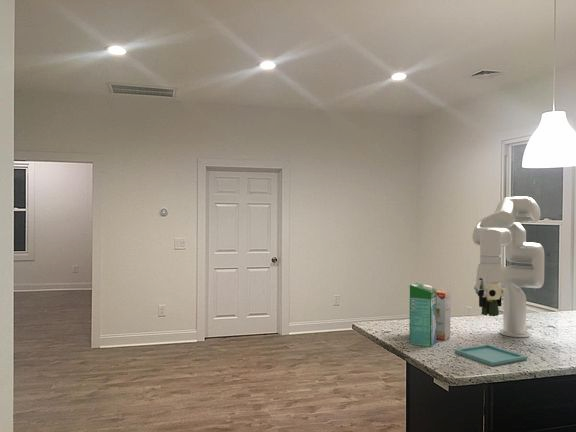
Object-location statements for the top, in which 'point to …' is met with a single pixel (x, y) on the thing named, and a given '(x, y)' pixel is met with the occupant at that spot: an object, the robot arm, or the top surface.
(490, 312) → the character mug
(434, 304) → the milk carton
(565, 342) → the top surface
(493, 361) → the tray
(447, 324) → the cracker box
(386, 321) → the top surface
